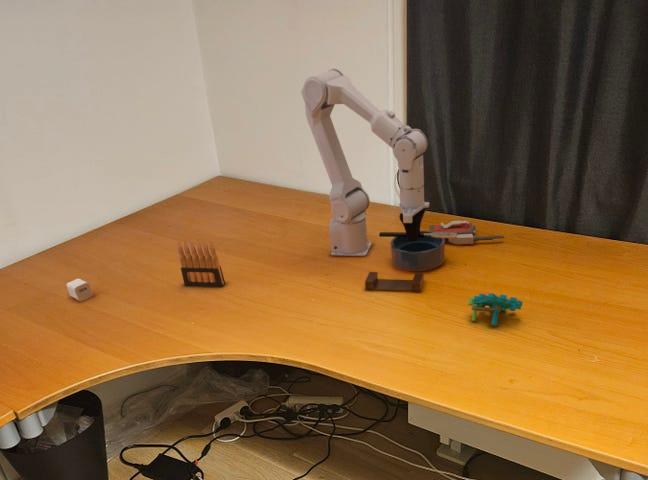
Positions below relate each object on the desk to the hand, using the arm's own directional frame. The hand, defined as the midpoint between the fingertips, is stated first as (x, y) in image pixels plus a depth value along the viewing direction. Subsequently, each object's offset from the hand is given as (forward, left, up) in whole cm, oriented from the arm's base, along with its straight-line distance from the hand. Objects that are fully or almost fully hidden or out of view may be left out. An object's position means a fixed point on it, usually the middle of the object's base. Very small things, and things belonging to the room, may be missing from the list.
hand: (413, 239), depth 152 cm
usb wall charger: (-83, -24, -6) cm, 87 cm away
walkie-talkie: (+11, +14, -6) cm, 19 cm away
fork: (+1, 0, +1) cm, 2 cm away
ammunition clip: (-51, -16, -6) cm, 54 cm away
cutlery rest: (-3, -13, -6) cm, 15 cm away
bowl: (+1, 0, -6) cm, 6 cm away
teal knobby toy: (+21, -26, -6) cm, 34 cm away
